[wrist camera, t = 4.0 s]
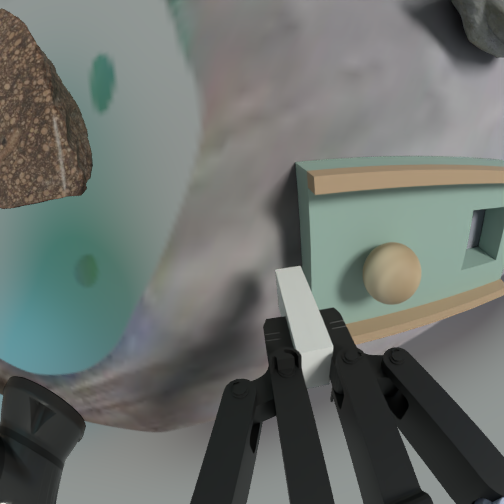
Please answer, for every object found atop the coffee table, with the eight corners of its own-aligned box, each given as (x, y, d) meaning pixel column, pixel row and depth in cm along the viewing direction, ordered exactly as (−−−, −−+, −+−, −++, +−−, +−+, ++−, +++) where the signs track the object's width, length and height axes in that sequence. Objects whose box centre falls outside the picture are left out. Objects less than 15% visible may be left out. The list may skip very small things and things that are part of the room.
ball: (351, 287, 19) (373, 323, 16) (354, 236, 17) (382, 267, 14) (398, 277, 19) (425, 309, 16) (405, 228, 18) (438, 256, 14)
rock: (144, 144, 12) (2, 290, 9) (103, 151, 20) (17, 238, 16) (40, -28, 4) (-114, 109, 1) (33, 42, 12) (-60, 127, 8)
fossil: (433, 43, 14) (506, 34, 7) (406, -43, 10) (461, -73, 2) (506, 66, 14) (565, 72, 6) (486, -9, 9) (538, -17, 2)
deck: (303, 315, 24) (315, 353, 20) (295, 162, 18) (314, 176, 14) (482, 272, 24) (505, 294, 20) (502, 160, 18) (534, 172, 14)
